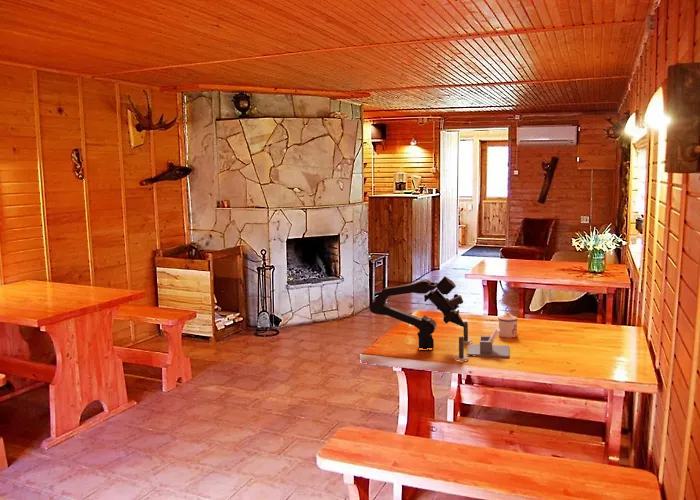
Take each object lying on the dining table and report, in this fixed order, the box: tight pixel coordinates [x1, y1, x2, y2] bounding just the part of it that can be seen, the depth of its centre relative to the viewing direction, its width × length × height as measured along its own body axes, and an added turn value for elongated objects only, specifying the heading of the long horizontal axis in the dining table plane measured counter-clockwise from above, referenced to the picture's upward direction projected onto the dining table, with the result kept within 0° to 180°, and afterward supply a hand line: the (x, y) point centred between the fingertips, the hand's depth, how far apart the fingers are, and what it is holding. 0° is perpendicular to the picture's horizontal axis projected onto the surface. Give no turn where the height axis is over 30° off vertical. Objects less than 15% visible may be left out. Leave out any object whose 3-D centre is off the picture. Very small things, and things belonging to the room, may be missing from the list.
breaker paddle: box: [488, 326, 500, 344], centre depth 259 cm, size 2×6×10 cm, turn 165°
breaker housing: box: [466, 335, 510, 359], centre depth 260 cm, size 18×16×6 cm
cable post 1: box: [453, 336, 469, 361], centre depth 249 cm, size 6×6×10 cm
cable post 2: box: [463, 321, 473, 343], centre depth 276 cm, size 6×6×10 cm
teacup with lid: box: [498, 311, 518, 338], centre depth 287 cm, size 12×9×12 cm
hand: (464, 326), depth 261 cm, fingers closed
